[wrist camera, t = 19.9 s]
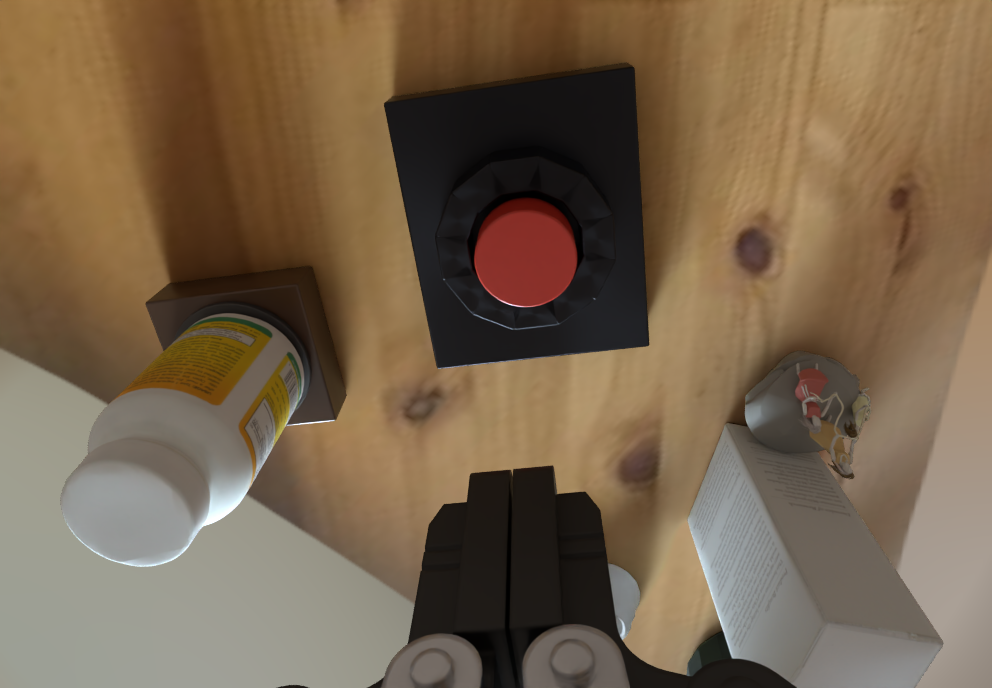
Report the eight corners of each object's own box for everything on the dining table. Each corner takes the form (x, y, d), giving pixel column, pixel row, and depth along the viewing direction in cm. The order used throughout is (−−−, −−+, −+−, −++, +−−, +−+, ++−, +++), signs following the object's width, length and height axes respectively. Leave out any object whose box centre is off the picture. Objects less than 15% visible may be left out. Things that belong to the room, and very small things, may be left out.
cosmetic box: (766, 533, 36) (870, 764, 25) (684, 518, 36) (753, 745, 25) (813, 433, 33) (952, 645, 22) (725, 417, 33) (822, 622, 22)
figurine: (736, 432, 33) (777, 517, 28) (730, 349, 31) (773, 423, 26) (854, 416, 33) (918, 499, 27) (855, 330, 31) (925, 401, 25)
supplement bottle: (333, 380, 30) (255, 536, 21) (244, 441, 32) (138, 610, 23) (241, 282, 28) (116, 411, 20) (151, 353, 30) (-1, 500, 21)
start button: (470, 203, 26) (466, 217, 24) (569, 190, 25) (572, 203, 24) (484, 295, 27) (482, 313, 26) (578, 283, 27) (581, 301, 25)
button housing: (390, 96, 27) (373, 110, 24) (628, 61, 26) (642, 70, 23) (441, 351, 32) (432, 390, 29) (643, 329, 31) (656, 367, 28)
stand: (168, 283, 31) (140, 305, 29) (312, 265, 30) (295, 286, 28) (214, 410, 34) (192, 439, 32) (347, 396, 33) (334, 425, 31)
